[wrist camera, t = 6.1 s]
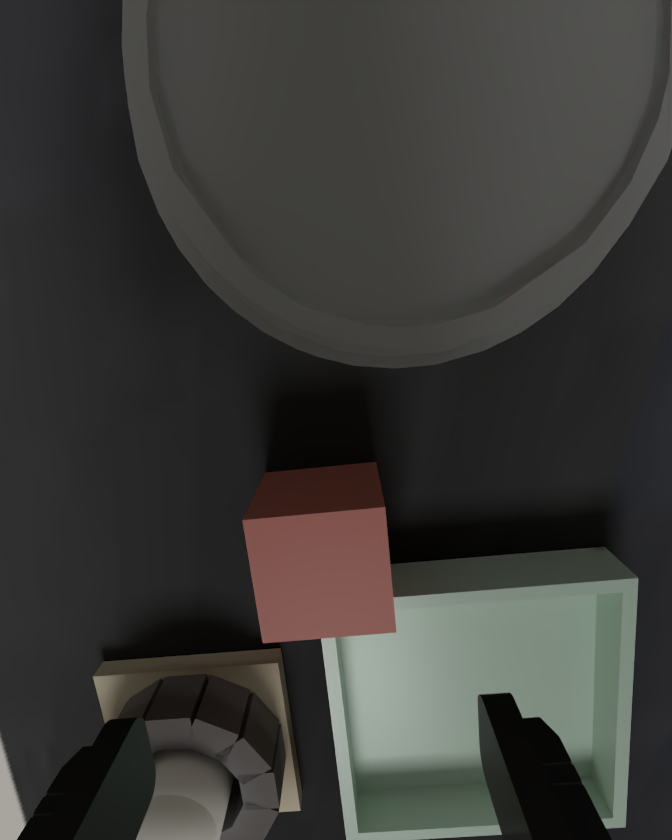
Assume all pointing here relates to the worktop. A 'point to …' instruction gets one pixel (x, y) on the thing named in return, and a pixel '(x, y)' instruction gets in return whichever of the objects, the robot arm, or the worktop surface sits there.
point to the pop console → (217, 723)
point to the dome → (187, 797)
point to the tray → (482, 687)
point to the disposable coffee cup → (397, 158)
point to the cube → (320, 554)
